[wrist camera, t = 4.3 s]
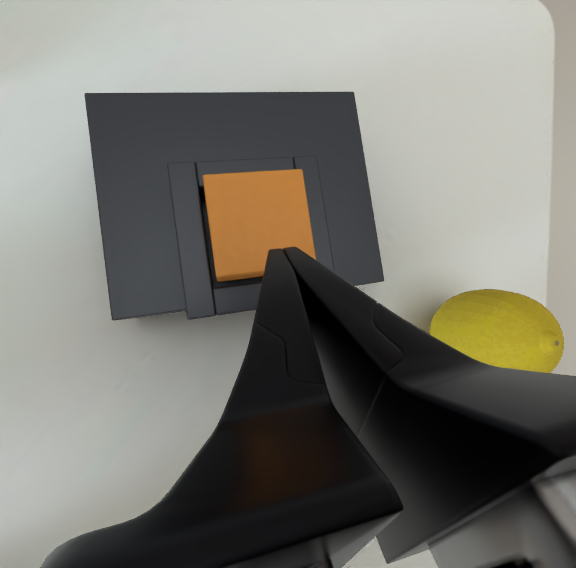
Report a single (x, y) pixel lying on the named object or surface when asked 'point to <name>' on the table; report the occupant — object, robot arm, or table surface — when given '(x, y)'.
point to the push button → (191, 196)
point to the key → (255, 219)
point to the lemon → (500, 330)
